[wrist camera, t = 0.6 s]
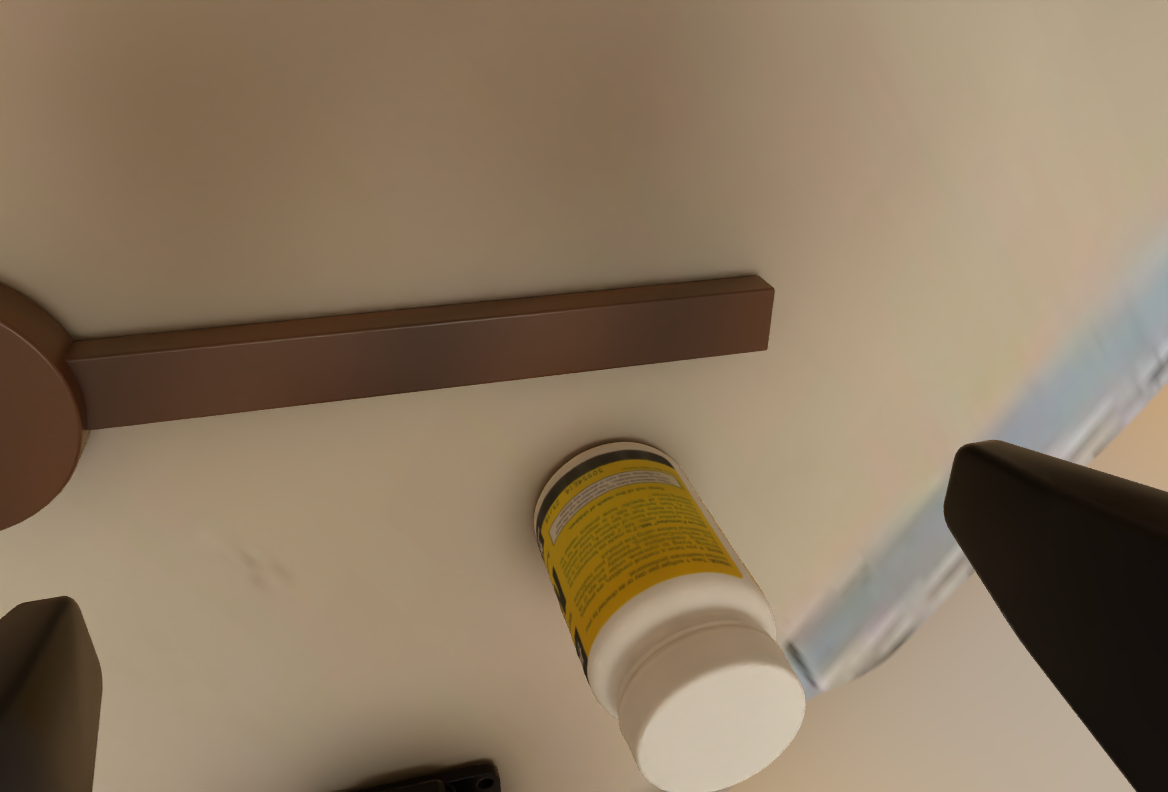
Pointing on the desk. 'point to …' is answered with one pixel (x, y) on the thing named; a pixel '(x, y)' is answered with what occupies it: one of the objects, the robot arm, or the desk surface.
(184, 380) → the wooden spoon
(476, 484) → the desk surface
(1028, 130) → the desk surface
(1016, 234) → the desk surface
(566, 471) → the supplement bottle
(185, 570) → the desk surface
